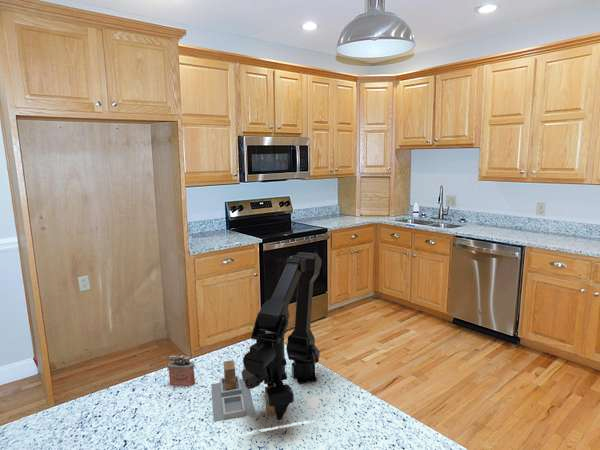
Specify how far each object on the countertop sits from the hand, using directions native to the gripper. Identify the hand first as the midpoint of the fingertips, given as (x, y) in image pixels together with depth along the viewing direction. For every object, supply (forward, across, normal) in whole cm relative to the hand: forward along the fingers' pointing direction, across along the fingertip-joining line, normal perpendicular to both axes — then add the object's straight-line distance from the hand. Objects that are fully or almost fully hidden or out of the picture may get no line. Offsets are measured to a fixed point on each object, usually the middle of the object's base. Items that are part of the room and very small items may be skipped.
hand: (275, 408), depth 106 cm
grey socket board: (+2, -9, -11) cm, 14 cm away
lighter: (+2, -21, -25) cm, 33 cm away
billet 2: (+2, 0, 0) cm, 2 cm away
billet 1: (0, -14, -11) cm, 18 cm away
